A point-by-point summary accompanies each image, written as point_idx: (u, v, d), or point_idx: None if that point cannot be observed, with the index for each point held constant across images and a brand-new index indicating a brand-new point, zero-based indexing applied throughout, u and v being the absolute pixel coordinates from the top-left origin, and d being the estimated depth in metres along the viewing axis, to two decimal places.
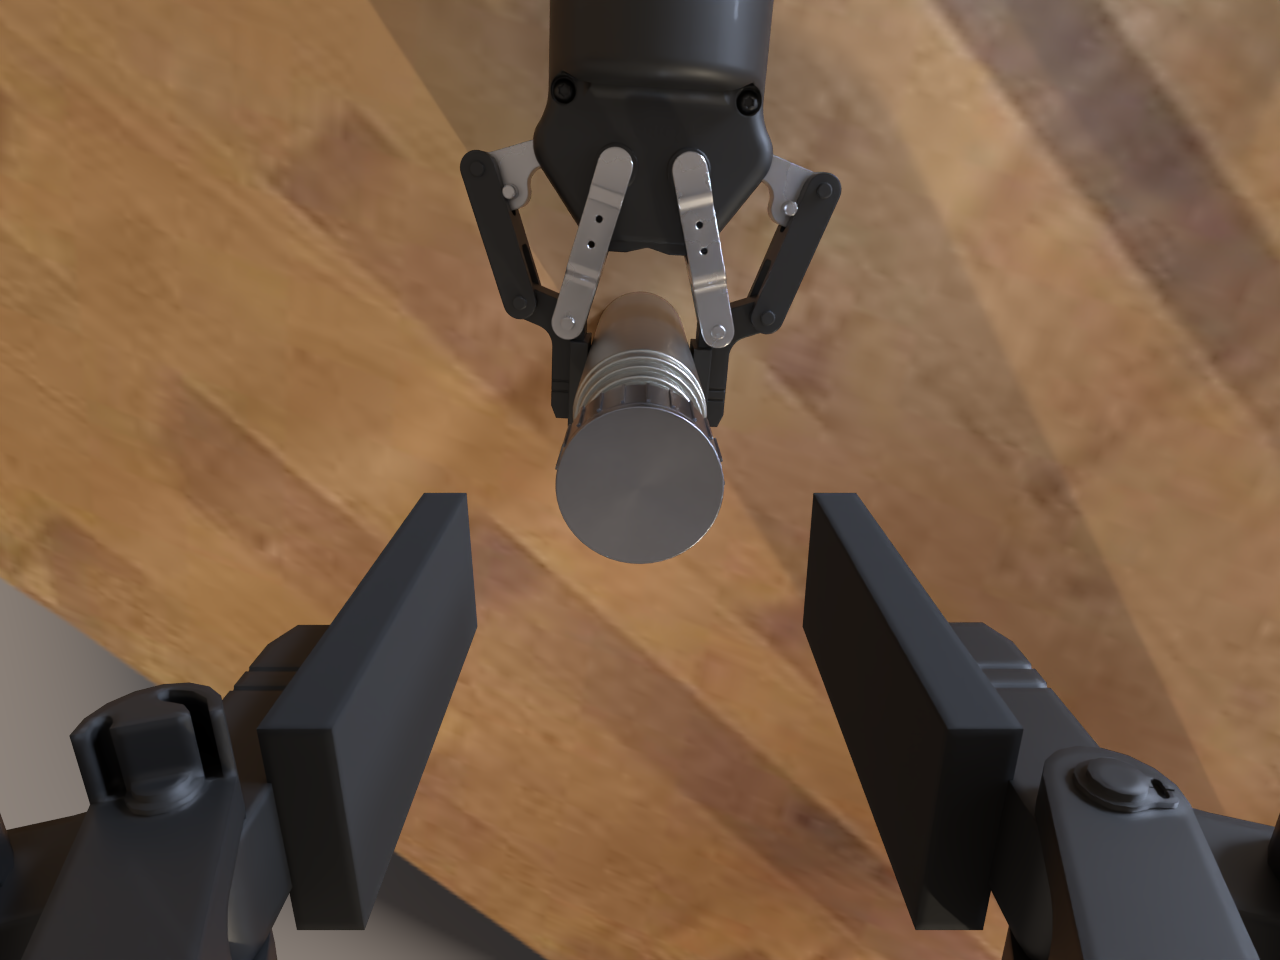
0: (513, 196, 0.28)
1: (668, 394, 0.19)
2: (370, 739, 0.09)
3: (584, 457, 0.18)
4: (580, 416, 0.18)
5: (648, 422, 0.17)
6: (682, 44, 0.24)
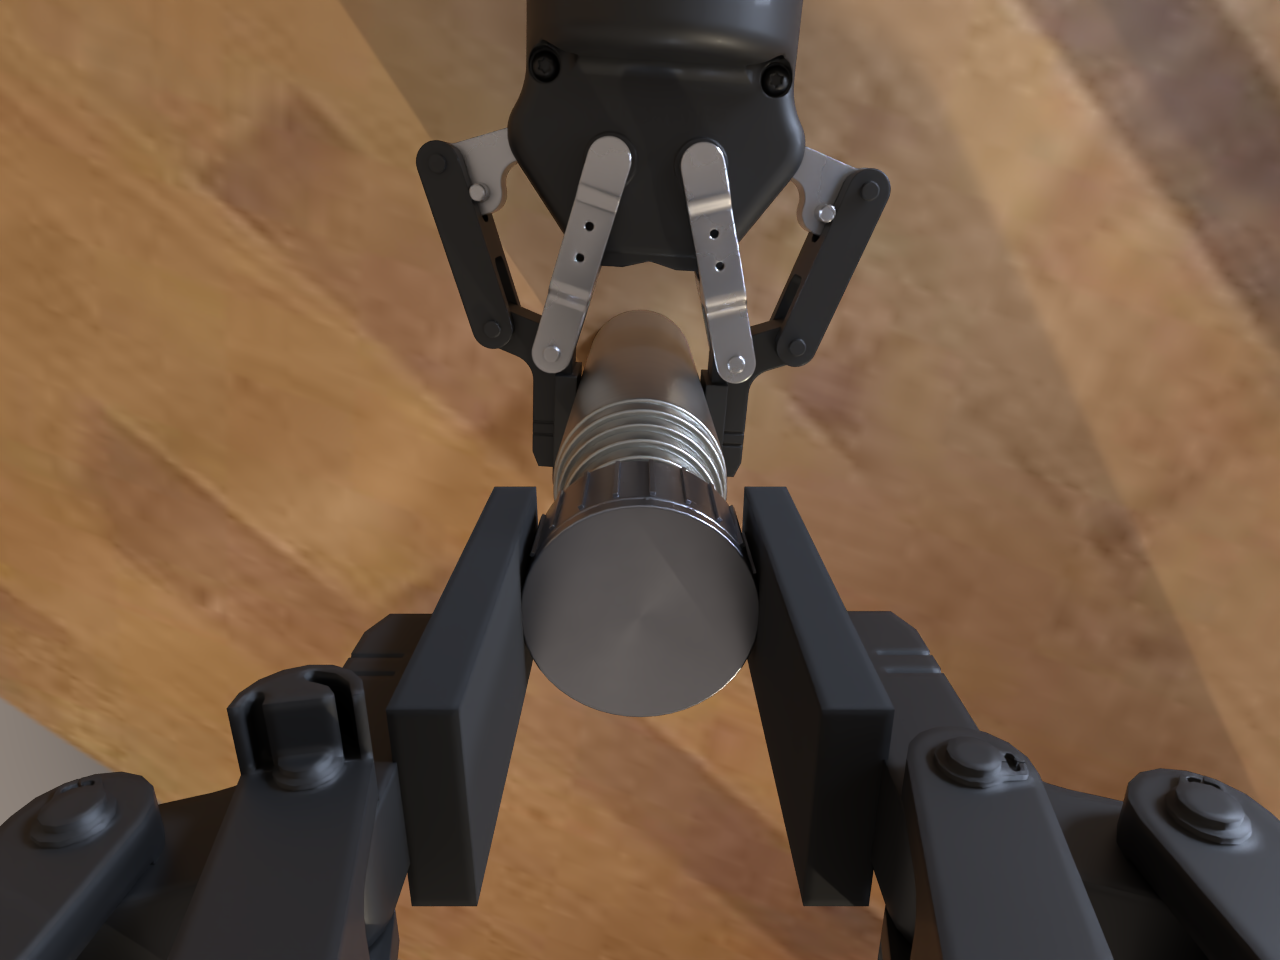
0: (483, 198, 0.22)
1: (680, 477, 0.13)
2: (480, 722, 0.09)
3: (560, 575, 0.12)
4: (556, 510, 0.13)
5: (652, 527, 0.12)
6: (695, 2, 0.19)
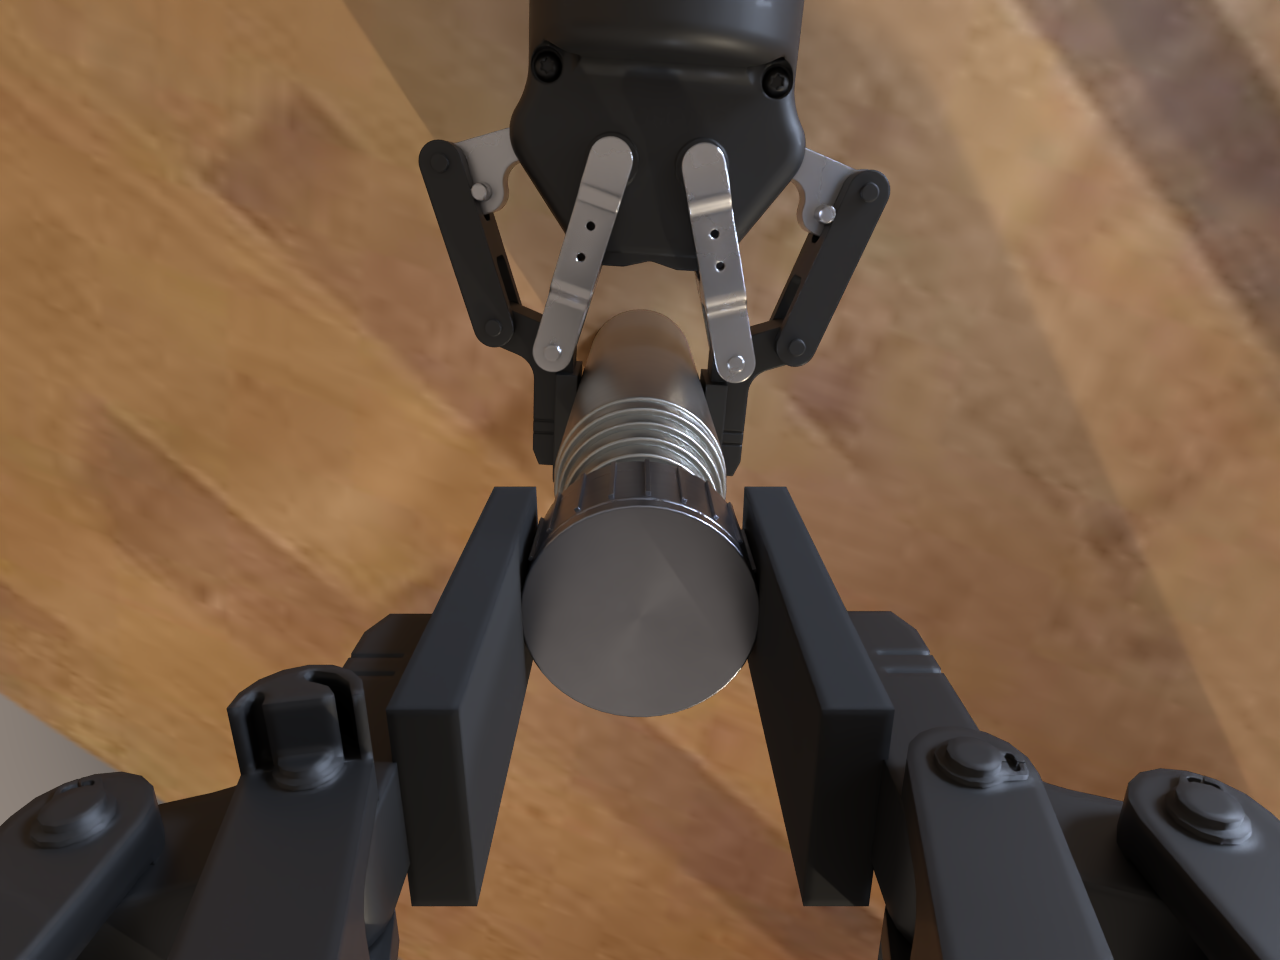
0: (485, 197, 0.23)
1: None
2: (480, 722, 0.09)
3: (642, 693, 0.13)
4: None
5: (552, 653, 0.13)
6: (697, 4, 0.19)
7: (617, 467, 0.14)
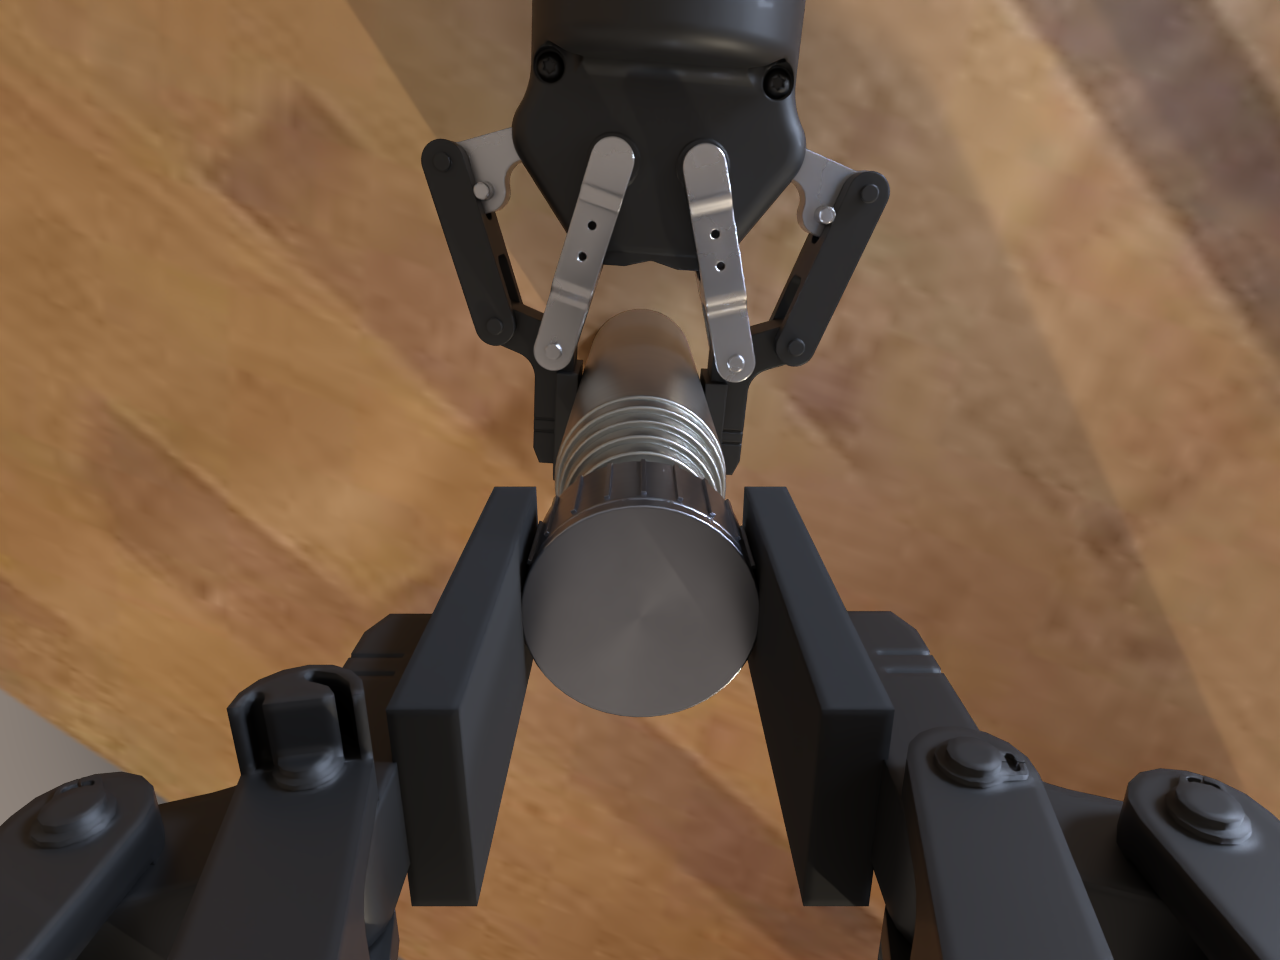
0: (487, 196, 0.23)
1: None
2: (480, 721, 0.09)
3: (717, 572, 0.12)
4: (750, 551, 0.13)
5: (721, 663, 0.13)
6: (699, 6, 0.19)
7: None
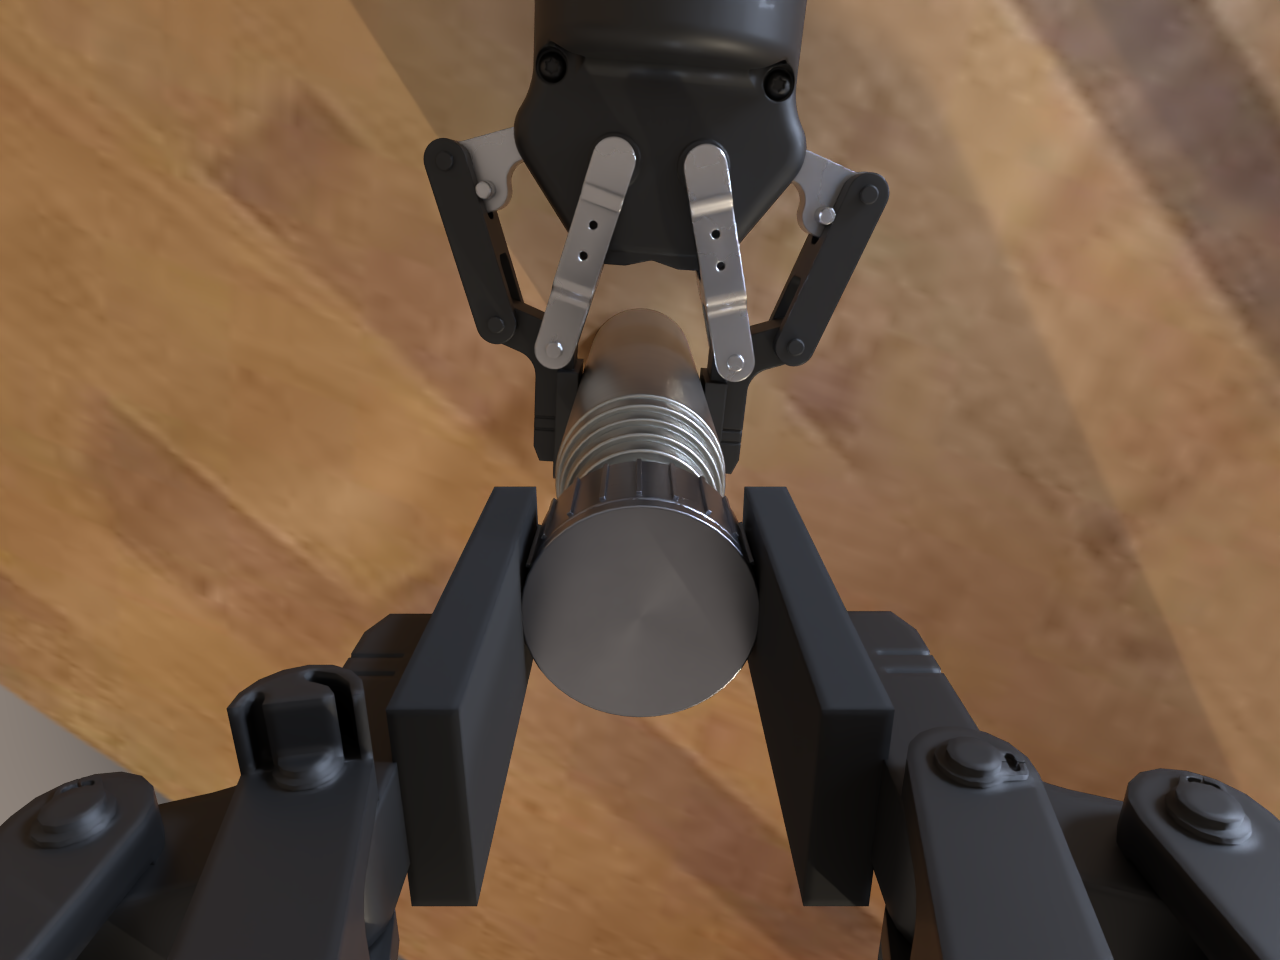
0: (489, 195, 0.23)
1: (668, 473, 0.13)
2: (480, 722, 0.09)
3: (556, 583, 0.12)
4: (548, 519, 0.13)
5: (641, 526, 0.12)
6: (701, 7, 0.19)
7: None
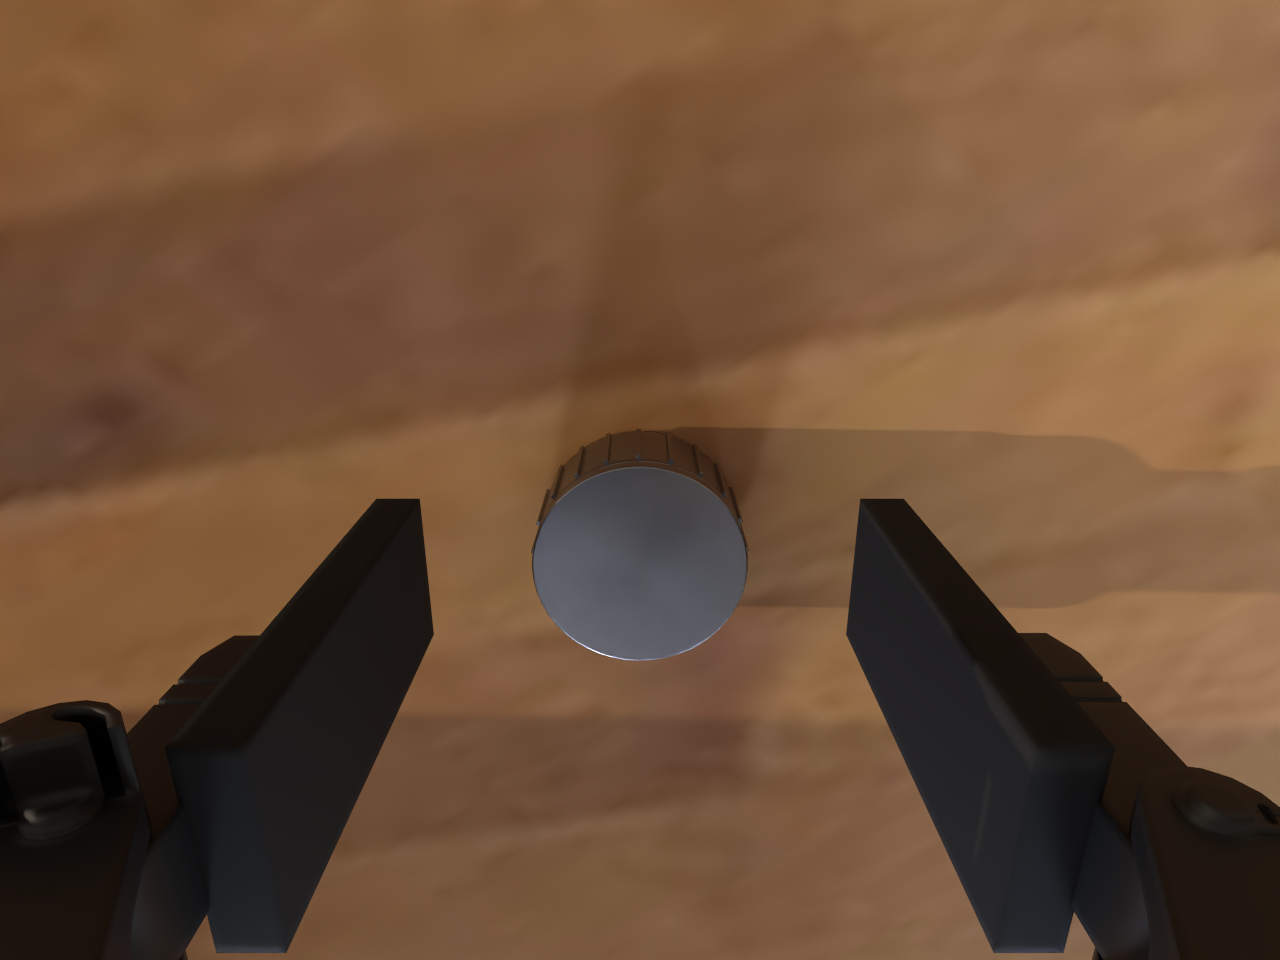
0: None
1: (665, 441, 0.15)
2: (294, 755, 0.09)
3: (564, 537, 0.14)
4: (556, 482, 0.15)
5: (640, 485, 0.13)
6: None
7: None
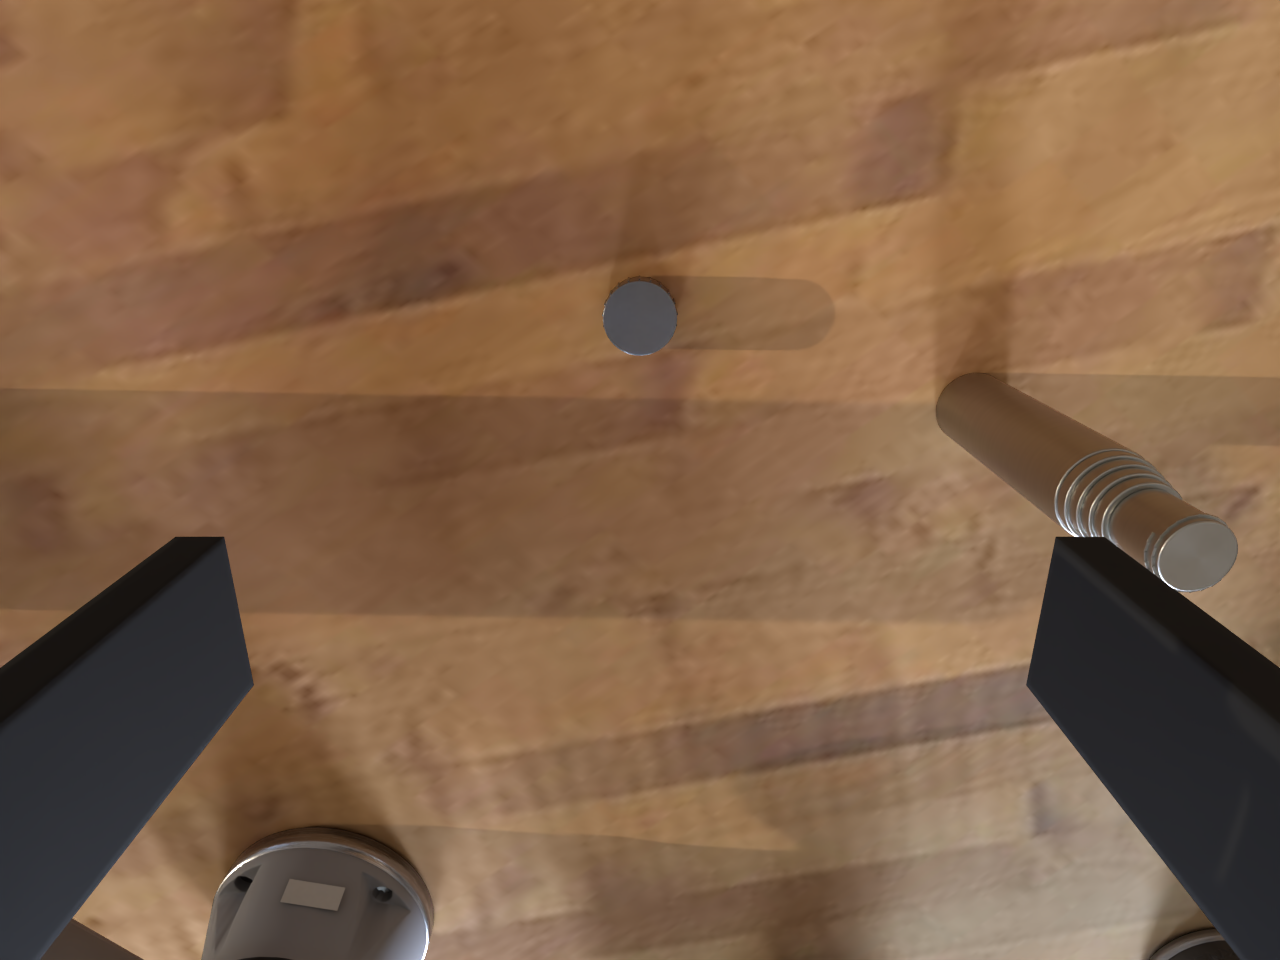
0: None
1: (648, 278, 0.42)
2: None
3: (614, 307, 0.41)
4: (610, 292, 0.42)
5: (640, 288, 0.41)
6: None
7: None
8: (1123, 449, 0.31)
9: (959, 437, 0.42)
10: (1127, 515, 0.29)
